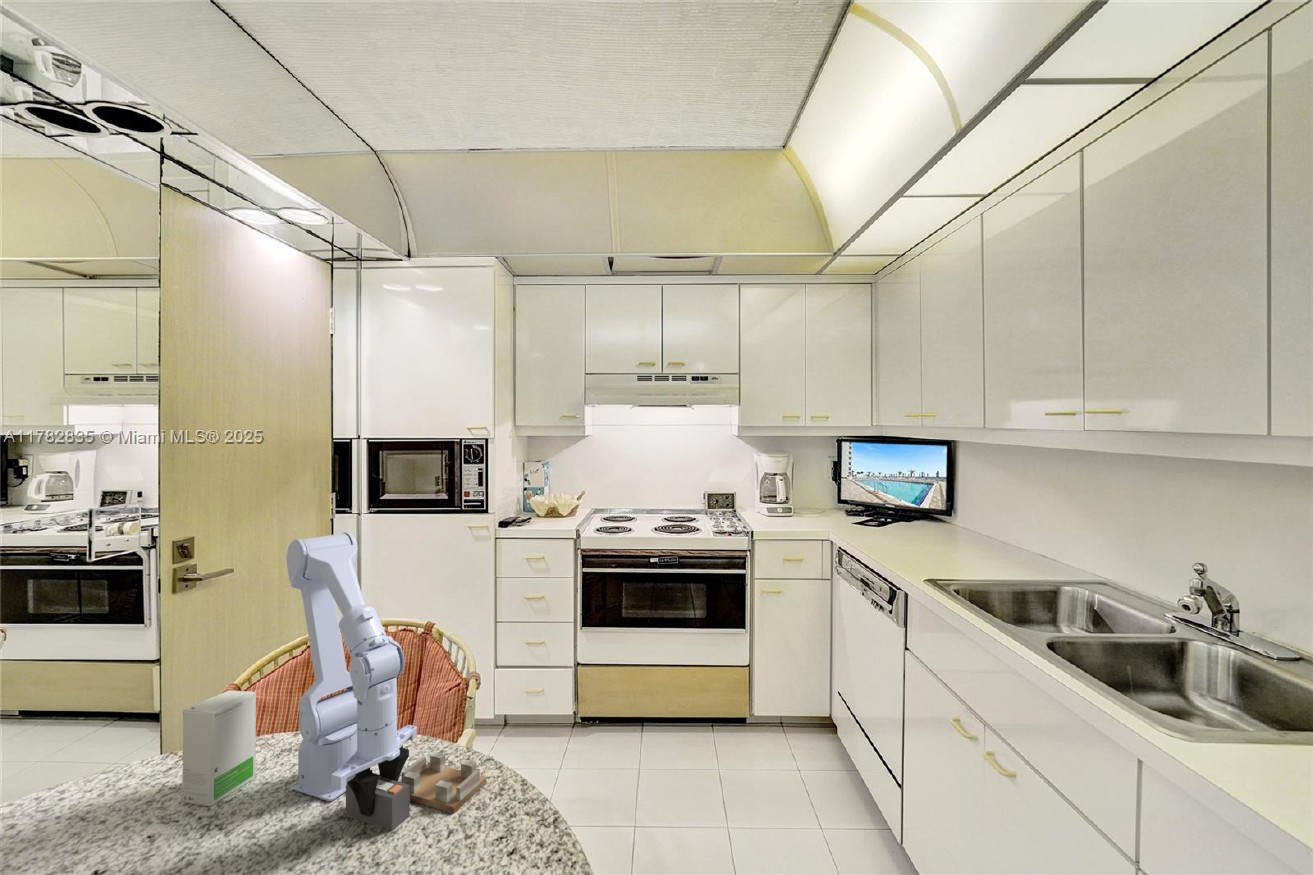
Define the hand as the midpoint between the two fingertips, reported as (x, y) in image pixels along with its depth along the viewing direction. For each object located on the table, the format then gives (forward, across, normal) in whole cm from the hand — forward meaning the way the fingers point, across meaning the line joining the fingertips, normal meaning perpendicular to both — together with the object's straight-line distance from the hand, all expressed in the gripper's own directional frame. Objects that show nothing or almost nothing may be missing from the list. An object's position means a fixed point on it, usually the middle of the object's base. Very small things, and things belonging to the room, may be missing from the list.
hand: (377, 805), depth 83 cm
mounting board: (+2, +8, -5) cm, 10 cm away
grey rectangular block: (+2, 0, 0) cm, 2 cm away
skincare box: (+2, -4, +32) cm, 32 cm away
